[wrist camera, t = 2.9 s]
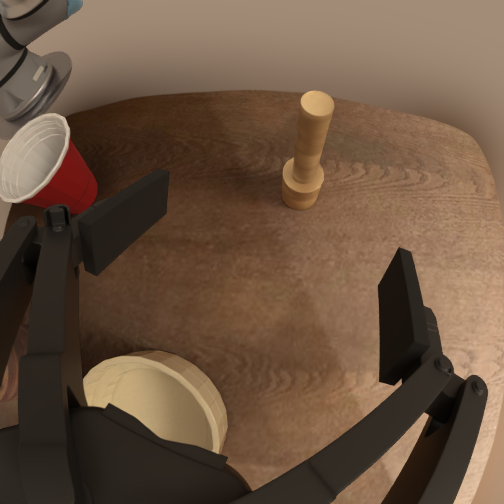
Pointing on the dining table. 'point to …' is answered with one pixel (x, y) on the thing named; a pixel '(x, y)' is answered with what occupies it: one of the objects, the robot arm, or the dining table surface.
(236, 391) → the dining table surface
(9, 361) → the mortar and pestle
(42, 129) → the plastic cup
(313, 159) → the muddler
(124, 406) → the bowl
